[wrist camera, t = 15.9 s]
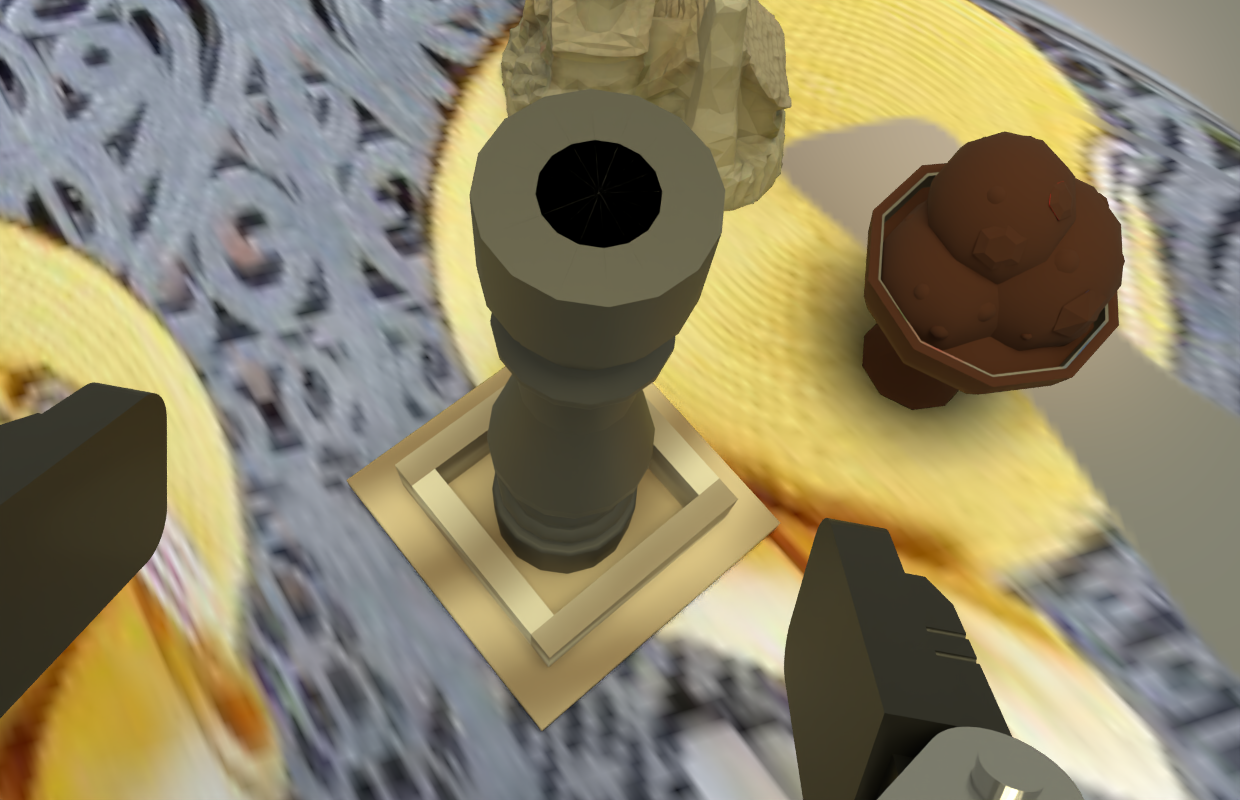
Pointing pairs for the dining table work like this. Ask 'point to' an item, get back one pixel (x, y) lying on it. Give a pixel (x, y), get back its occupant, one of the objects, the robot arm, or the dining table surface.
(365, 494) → the socket base
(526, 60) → the ceramic cottage
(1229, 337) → the dining table surface
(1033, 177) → the ice cream bowl
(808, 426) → the dining table surface
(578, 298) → the candle holder
